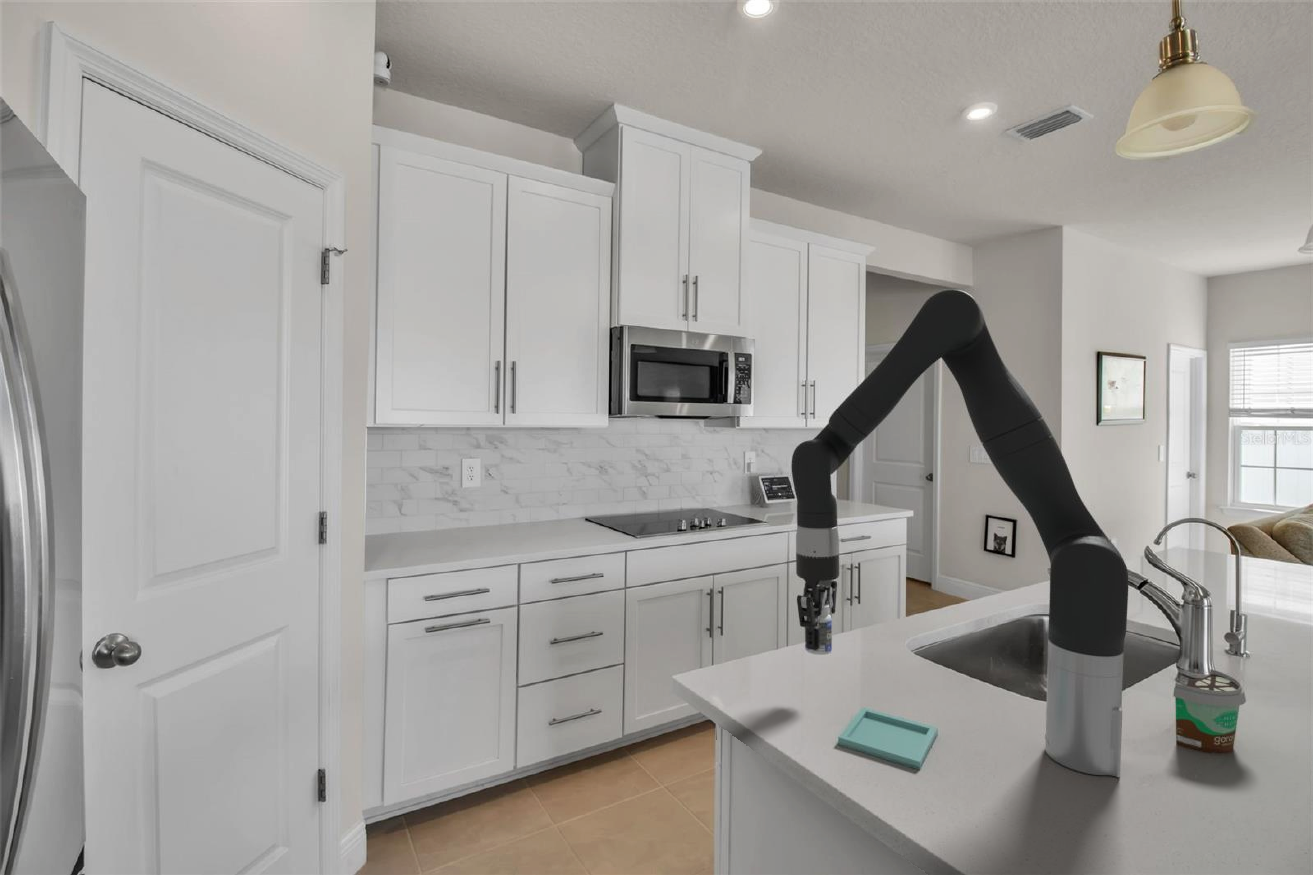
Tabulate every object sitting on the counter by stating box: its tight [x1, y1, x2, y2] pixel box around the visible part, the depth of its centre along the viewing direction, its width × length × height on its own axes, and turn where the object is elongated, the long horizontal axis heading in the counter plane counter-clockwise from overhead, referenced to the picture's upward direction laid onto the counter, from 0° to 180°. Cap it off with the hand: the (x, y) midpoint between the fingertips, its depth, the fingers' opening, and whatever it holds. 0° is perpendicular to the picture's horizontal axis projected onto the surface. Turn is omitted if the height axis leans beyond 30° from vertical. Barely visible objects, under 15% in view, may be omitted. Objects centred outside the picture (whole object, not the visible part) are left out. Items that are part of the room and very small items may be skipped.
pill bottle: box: [804, 603, 833, 656], centre depth 114 cm, size 5×5×8 cm
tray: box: [837, 706, 939, 771], centre depth 100 cm, size 12×12×1 cm
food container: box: [1172, 668, 1247, 755], centre depth 98 cm, size 12×6×10 cm, turn 118°
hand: (818, 643), depth 114 cm, fingers closed on pill bottle, 4 cm apart
